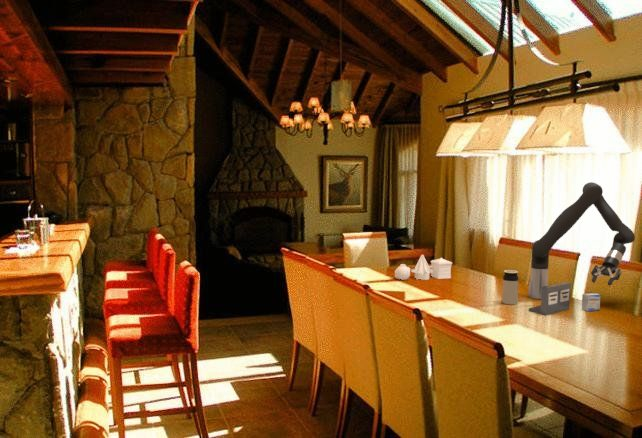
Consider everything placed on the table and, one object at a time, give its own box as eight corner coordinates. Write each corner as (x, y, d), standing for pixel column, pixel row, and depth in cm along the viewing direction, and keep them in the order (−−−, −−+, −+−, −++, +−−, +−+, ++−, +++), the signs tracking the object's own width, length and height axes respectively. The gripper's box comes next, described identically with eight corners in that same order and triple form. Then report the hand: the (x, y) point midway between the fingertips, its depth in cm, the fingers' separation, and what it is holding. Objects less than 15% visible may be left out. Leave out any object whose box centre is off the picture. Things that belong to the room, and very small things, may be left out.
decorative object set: (440, 274, 414) (440, 251, 412) (453, 279, 397) (454, 254, 396) (388, 277, 400) (389, 253, 399) (400, 282, 384) (401, 257, 382)
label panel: (528, 311, 310) (529, 284, 308) (552, 305, 323) (553, 280, 322) (546, 315, 301) (547, 288, 300) (570, 309, 315) (571, 283, 313)
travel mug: (518, 305, 322) (519, 272, 321) (502, 304, 324) (504, 272, 322) (516, 302, 330) (517, 270, 328) (501, 301, 332) (502, 269, 330)
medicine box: (587, 311, 310) (588, 295, 309) (581, 309, 314) (582, 293, 313) (599, 310, 312) (600, 294, 311) (593, 308, 316) (594, 292, 315)
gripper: (597, 254, 326) (585, 276, 320) (623, 257, 314) (611, 281, 308) (602, 262, 329) (590, 285, 323) (628, 266, 318) (616, 289, 312)
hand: (600, 283), depth 316 cm, fingers open, 8 cm apart
